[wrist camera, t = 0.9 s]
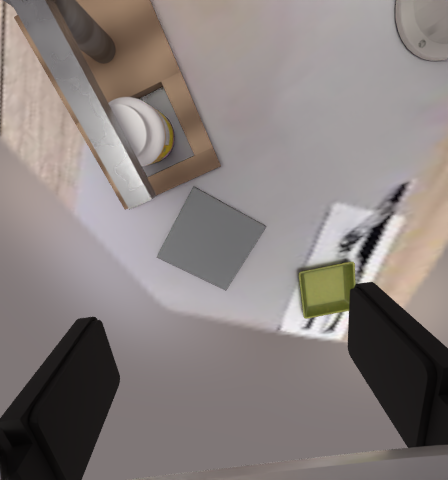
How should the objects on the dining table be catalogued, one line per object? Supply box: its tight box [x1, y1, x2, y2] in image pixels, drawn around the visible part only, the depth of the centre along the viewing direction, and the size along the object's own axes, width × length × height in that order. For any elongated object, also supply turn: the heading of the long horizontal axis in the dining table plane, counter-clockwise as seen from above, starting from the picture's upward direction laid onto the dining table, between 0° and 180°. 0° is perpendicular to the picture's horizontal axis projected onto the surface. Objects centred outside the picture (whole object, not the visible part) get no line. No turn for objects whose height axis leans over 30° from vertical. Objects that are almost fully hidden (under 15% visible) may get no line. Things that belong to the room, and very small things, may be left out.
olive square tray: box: [299, 262, 355, 319], centre depth 44 cm, size 9×9×2 cm
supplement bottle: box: [108, 97, 174, 167], centre depth 30 cm, size 7×7×13 cm
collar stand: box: [14, 0, 221, 209], centre depth 27 cm, size 23×14×15 cm, turn 24°
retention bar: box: [4, 0, 156, 210], centre depth 20 cm, size 18×4×2 cm, turn 24°
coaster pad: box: [157, 187, 266, 290], centre depth 41 cm, size 12×12×1 cm
